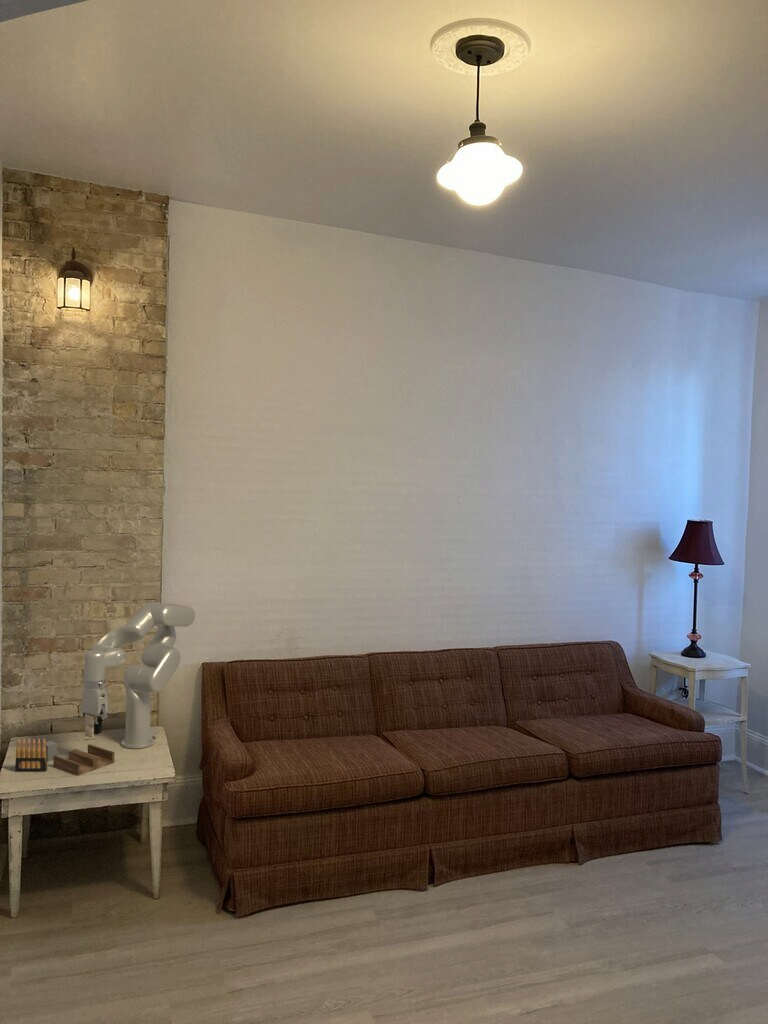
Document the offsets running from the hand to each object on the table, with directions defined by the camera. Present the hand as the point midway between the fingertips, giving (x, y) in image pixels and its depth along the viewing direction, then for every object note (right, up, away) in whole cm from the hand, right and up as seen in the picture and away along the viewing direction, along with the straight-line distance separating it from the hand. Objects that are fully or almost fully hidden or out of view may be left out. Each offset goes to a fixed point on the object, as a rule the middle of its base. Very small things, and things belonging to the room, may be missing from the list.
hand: (93, 731), depth 306 cm
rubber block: (-17, -11, +2) cm, 20 cm away
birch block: (0, -1, 0) cm, 1 cm away
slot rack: (-2, -11, -3) cm, 12 cm away
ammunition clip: (-19, -12, -10) cm, 24 cm away
